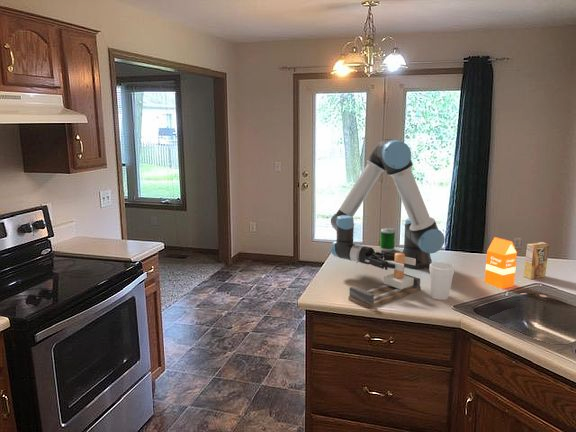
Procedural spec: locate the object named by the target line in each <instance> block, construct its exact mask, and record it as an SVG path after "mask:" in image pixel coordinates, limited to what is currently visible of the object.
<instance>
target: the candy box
mask: <svg viewBox="0 0 576 432" xmlns="http://www.w3.org/2000/svg"><path fill="white" fill-rule="evenodd" d="M549 248H550V244H549V243H547V242H543V241H540V242H533V243H526V252H525V262H524V268H523V269H524V270H523V277H524V278H527V279H529V280H533V279H539V278H545V277H546V273H547V271H546V270H547V264H548V257H549Z"/></svg>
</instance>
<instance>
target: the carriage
mask: <svg viewBox="0 0 576 432" xmlns="http://www.w3.org/2000/svg"><path fill="white" fill-rule="evenodd" d="M394 253H395V260H394V261H393V262H395V263H400V264H404V261H405V254H404V253H402V252H394ZM404 274H405V270H404V271H399V270H395V269H393V273H391V274H388V275H385V276H383V285H385V284H387V285H390V286H393V287H395V288H398V289H403V288H406V287H409V286H412V285H413V284H414V278H412V277H409V276H406V275H404Z"/></svg>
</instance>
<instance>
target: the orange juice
mask: <svg viewBox="0 0 576 432" xmlns="http://www.w3.org/2000/svg"><path fill="white" fill-rule="evenodd" d="M517 255H518V252H517V249H516V248H515V245H514V243H513V241H512V240H508V239H505V238H501V237H496V236H493V239H492V241H491V243H490V245H489V246H488V249H487V251H486V259H485V260H486V261H485V262H486V263H485V275H484V283H486V284H487V285H490V286H492V287H496V288H499V289H502V290H503V289H507V288H510V287H514V286H515V276H516V268H517V267H516V266H517V264H516V263H517Z"/></svg>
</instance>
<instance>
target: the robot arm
mask: <svg viewBox="0 0 576 432" xmlns="http://www.w3.org/2000/svg"><path fill="white" fill-rule="evenodd" d="M366 162H367V163H366V166H365V167H364V169H363V170H362V172H361V173H360V175H359V177H358V179H357V180H356V181H355V183H354V185H353V186H352V188H351V189H350V191H349V192H348V195H347V196H346V197H345V199H344V200H343V202H342V204H341V205H340V207H339V208H338V210H337V211H336V213H333V215H332V216H331V218H330V225H331V226H332V228H333V229H334V230H335V232H336V240H335V241H333V242H332V244H331V247H330V253H331V254H332V256H334V257H335V258H339V259H341V260H342V259H343V260H349V261H350V262H351V261H352V262H355V263H356V264H358V263H360V264H365V265H371V266H373V267H377V268H379V269H382V270H385V271H387V270H388V269H390V270H394V269H395V270H399V271H404V272H405V267H406V268H410V269H427V268H428V269H429V268H430V264H431V263H433V260H432V256H431V254H435V253H437V252H439V251H440V250H441V249H443V246H444V245H445V242H446V241H445V240H446V238H445V235H444V233H443V231H441V230H440V229H439V228H438V227H439V226H438V225H437V222H436V219H435V218H433V217H431V216H430V214H429V211H428V210H427V207H426V204H425V202H424V199H423V196H422V194H421V191H420V189H419V186H418V184H417V182H416V179H415V177H414V173H413V171H412V168H413V165H414V164H413V162H412V151H411V148H410V146H408V144H406V143H405V142H404V141H402V140H400V139H391V138H387V139H386V138H385V139H383V140H381V141H379V142H378V143H377V144H376V146H375V147H374V148H373V150H372V152H371V153H370V155H369V156H368V158H367V160H366ZM383 172H386V174H387V176H390V177H391V178H392V180H393V182H394V185H395V187H396V191H397V192H398V194H399V197H400V200H401V202H402V204H403V207H404V209H405V211H406V214H407V217H408V218H406V219H405V220H404V221H405V222H404V236H403V237H404V239H403V240H404V242H403V244H404V245H403V250H402V252H401V253H404V254H405V261H404V264H400V263H395V262H394V260H395V253H396V252H391V251H390V252H386V251H382V250H381V251H380V252H379V251H376V252H375V249H374V248H373V247H370V246H364V245H361V244H356V243H354V233H355V232H354V229H355V228H354V226H355V222H354V216H355V214H356V213H357V211H358V210H359V208H360V206H361V205H362V203H363V202H364V200H365V199H366V198H367V196H368V194H369V192H370V191H371V190H372V188H373V187H374V185H375V183H376V182H377V180H378V178H379V177H380V176H381V174H382V173H383Z"/></svg>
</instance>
